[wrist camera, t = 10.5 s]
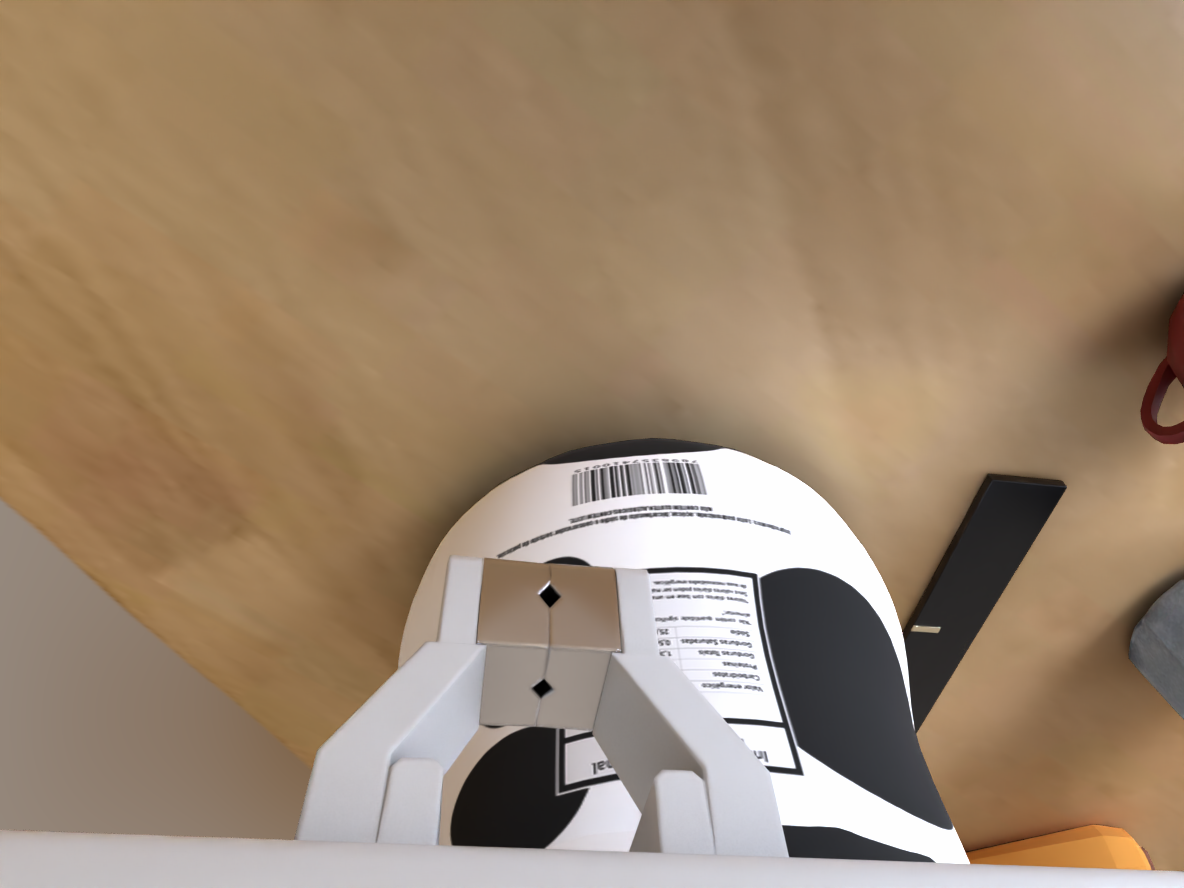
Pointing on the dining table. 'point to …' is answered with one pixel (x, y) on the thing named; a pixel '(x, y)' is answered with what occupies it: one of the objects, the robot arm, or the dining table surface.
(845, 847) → the milk container
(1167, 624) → the moka pot
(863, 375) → the dining table surface
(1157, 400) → the cocoa
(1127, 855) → the carrot
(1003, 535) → the ruler
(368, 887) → the robot arm
